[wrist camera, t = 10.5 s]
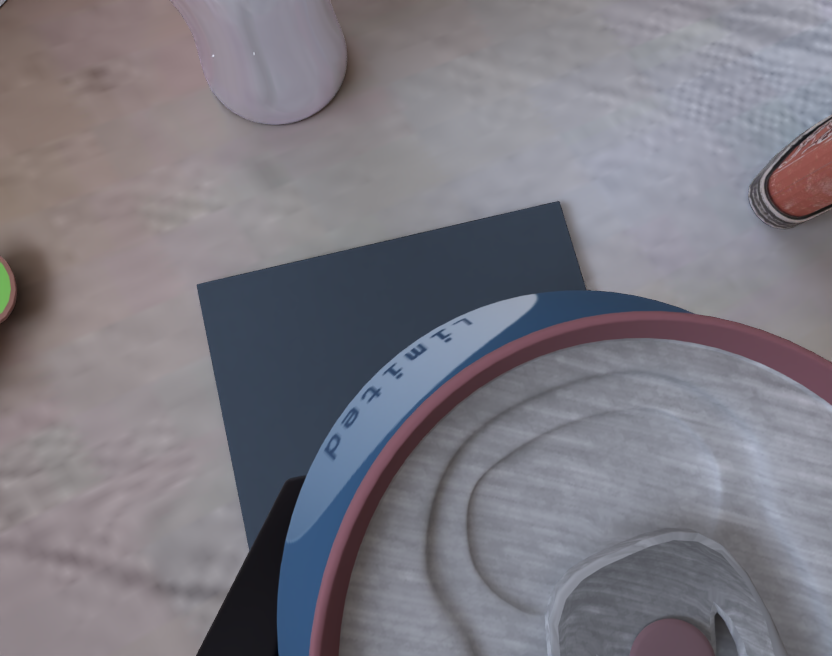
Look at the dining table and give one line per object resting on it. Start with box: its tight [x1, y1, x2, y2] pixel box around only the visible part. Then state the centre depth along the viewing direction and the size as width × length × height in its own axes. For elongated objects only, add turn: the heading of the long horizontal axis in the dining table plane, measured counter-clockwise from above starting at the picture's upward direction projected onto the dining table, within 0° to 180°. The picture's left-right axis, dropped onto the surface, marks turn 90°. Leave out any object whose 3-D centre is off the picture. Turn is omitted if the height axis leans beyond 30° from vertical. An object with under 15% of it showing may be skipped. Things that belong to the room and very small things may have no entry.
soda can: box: [277, 290, 832, 656], centre depth 10 cm, size 7×7×12 cm
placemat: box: [197, 201, 586, 551], centre depth 20 cm, size 22×15×1 cm
